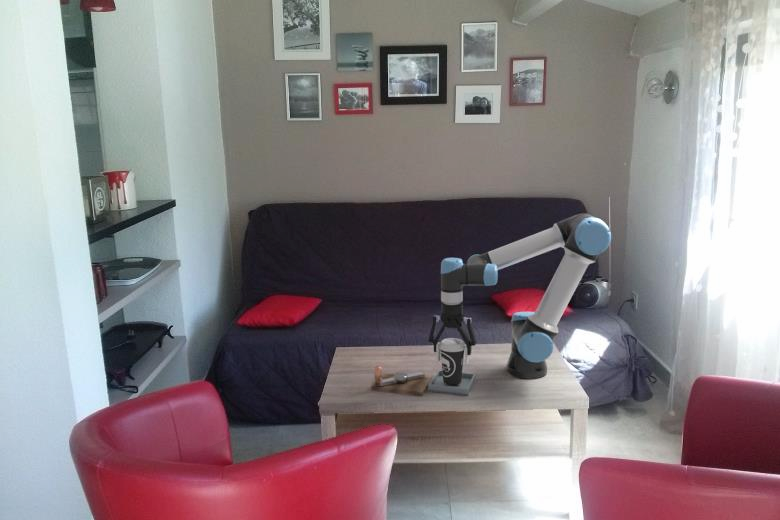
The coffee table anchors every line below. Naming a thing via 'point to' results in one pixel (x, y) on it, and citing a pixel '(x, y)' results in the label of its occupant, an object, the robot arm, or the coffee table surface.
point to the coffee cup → (452, 360)
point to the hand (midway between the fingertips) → (452, 362)
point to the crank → (395, 377)
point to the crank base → (404, 386)
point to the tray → (457, 389)
